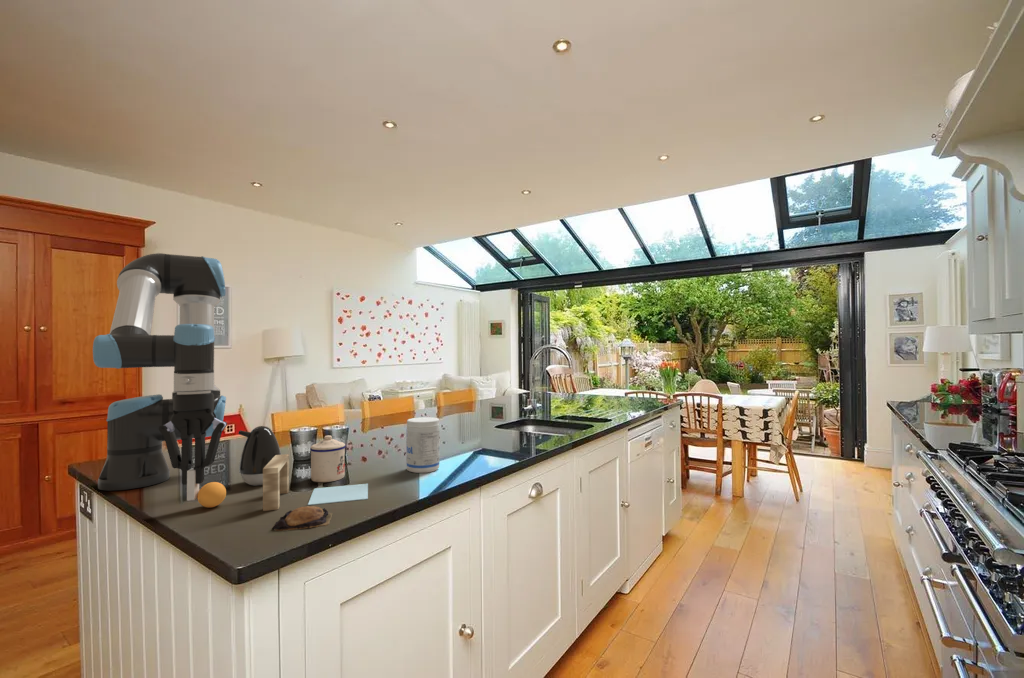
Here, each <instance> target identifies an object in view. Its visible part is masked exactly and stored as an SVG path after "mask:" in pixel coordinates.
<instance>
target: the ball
mask: <svg viewBox="0 0 1024 678" xmlns="http://www.w3.org/2000/svg"><path fill="white" fill-rule="evenodd" d="M226 496H227V489H226V486H225V485H224V484H222V483H221V482H218V481H211V482H208V483H206V484H204V485H203V486H201V488H199V492H198V496H197V502H198V503H199V504H200V506H203V507H204V508H207V509H208V508H215V507H217V506H219V505H220V504H222V503H223V502H224V501H225V499H226Z"/></svg>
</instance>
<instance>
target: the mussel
mask: <svg viewBox="0 0 1024 678" xmlns="http://www.w3.org/2000/svg"><path fill="white" fill-rule="evenodd" d="M332 516H333V512H329V511H328V510H327V509H326V508H322V507H319V506H316V505H307V506H306V505H305V506H299V507H296V508H295V509H293V510H289V511H287V512H286V513H285V514H284V515H282V516H280V518H279V520H278V521H276V522H275V524H274V525H273V526H272V529H273V530H274V531H276V532H279V531H281V532H282V531H292V530H302V529H305V530H306V529H311V528H319V527H324V526H325V527H326V526H329V525H330V522H331V519H332Z"/></svg>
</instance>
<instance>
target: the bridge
mask: <svg viewBox="0 0 1024 678" xmlns="http://www.w3.org/2000/svg"><path fill="white" fill-rule="evenodd" d="M289 456H290V454H288V453H286V454H285V453H284V454H283V453H282V454H281V455H275V456H274V457H273V458H272V460H271V461H270V462H269V463H268V464H267V465H266V466H265V467H264V468H263V485H262V512H267V511H277V510H279V508H280V505H281V503H280V501H281V499H280V497H281V496H280V495H282V494H283V495H284V494H288V493H289V492H290V477H289V476H290V470H289V469H290V468H289V467H290V458H289Z"/></svg>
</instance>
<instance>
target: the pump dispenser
mask: <svg viewBox="0 0 1024 678" xmlns="http://www.w3.org/2000/svg"><path fill="white" fill-rule="evenodd" d="M238 435H240V436H243V437H246V440H245V442H244V445H243V447H242V451H241V454H240V460H239V466H238V471H239V474H240V476H241V479H242V480H243V482H244V483H246V485H247V484H248V485H249V486H254V487H255V486H263V468H264V467H265V466H266V465H267V464H268V463H269V462H270V461H271V460H272V458H273V457H274V456H275V455H282V451H281V448H280V445H279V444H280V443H279V441H278V440H277V437H276V435H275V433H274V432H273V430H272V428H270V427H268V426H265V425H259V426H255V427H254V428H253V429H252V430H251V431H246V430H245V431H244V430H241V429H240V430H239V431H238Z"/></svg>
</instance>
